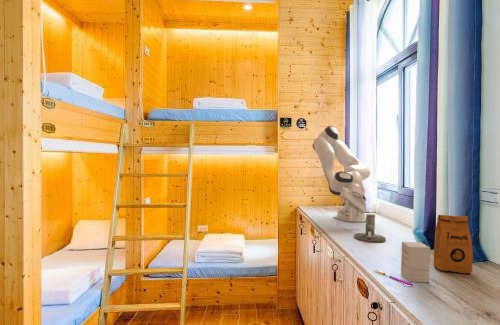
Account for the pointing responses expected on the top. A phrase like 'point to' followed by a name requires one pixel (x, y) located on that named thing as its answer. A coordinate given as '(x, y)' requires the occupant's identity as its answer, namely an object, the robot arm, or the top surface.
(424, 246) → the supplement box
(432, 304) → the top surface
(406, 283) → the purple screwdriver
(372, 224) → the green cylinder with base
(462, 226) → the coffee package
